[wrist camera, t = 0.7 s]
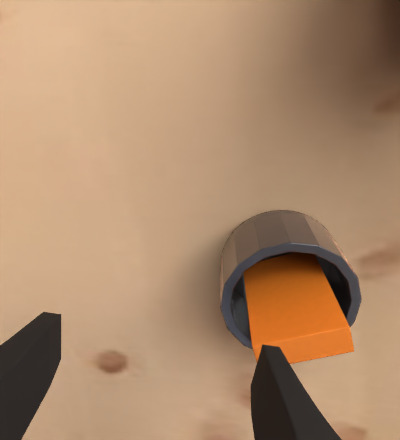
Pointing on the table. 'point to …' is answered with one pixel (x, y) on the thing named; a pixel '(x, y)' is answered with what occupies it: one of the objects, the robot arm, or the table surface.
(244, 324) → the cup
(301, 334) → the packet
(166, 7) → the table surface
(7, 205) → the table surface
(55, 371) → the robot arm
